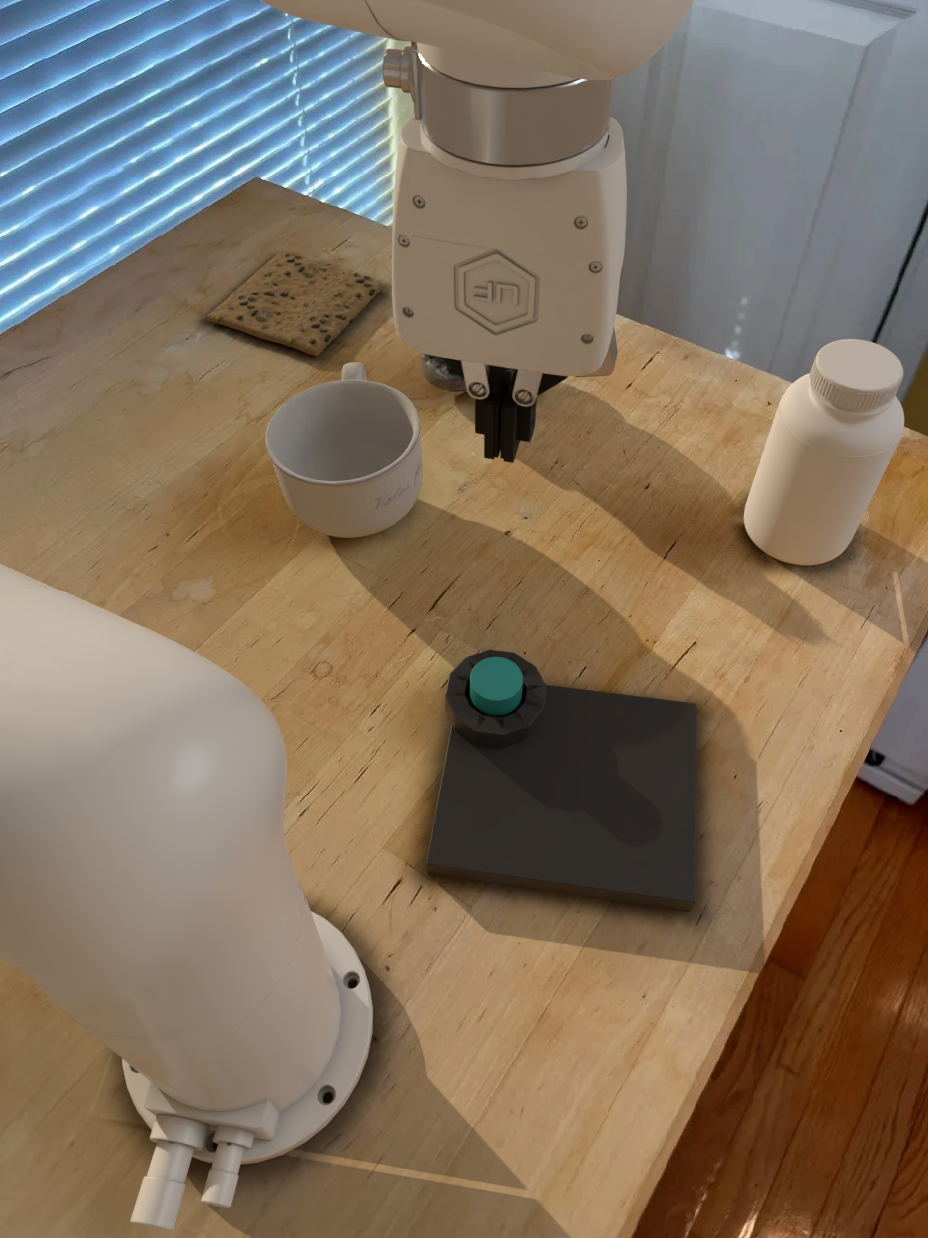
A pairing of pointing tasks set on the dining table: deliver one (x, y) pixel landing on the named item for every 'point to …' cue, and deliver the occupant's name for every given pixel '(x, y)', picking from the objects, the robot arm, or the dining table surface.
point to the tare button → (496, 686)
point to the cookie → (296, 303)
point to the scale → (569, 792)
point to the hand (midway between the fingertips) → (504, 442)
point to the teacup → (347, 455)
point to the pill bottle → (826, 453)
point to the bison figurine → (443, 374)
